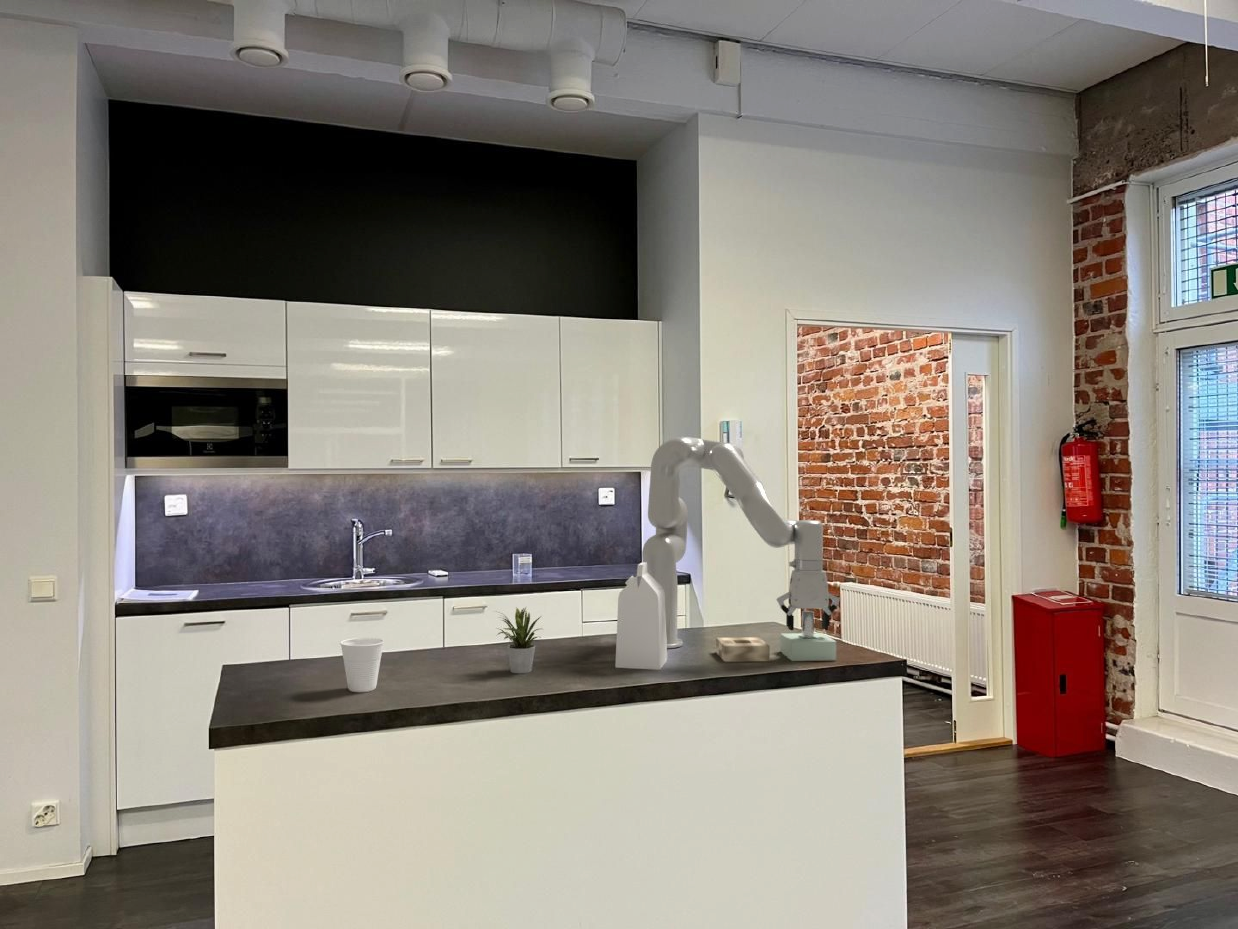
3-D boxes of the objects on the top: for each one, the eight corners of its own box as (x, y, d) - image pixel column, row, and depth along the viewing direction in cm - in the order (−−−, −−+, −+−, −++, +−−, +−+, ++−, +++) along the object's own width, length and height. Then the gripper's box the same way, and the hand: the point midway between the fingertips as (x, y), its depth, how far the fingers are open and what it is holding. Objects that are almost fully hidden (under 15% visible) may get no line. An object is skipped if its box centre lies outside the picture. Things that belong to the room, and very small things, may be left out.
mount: (724, 661, 252) (724, 646, 252) (716, 652, 264) (716, 637, 264) (769, 661, 253) (769, 646, 253) (759, 651, 265) (759, 637, 265)
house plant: (483, 666, 245) (484, 602, 245) (536, 662, 250) (536, 599, 250) (497, 678, 232) (497, 610, 231) (552, 674, 237) (552, 607, 236)
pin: (803, 657, 259) (803, 612, 258) (800, 654, 262) (800, 610, 262) (815, 657, 259) (815, 612, 259) (811, 654, 262) (812, 610, 262)
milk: (660, 669, 242) (660, 566, 242) (615, 667, 245) (616, 565, 244) (667, 659, 254) (667, 561, 254) (624, 657, 256) (625, 560, 256)
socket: (791, 660, 254) (791, 642, 254) (780, 651, 266) (780, 633, 266) (836, 660, 255) (836, 641, 255) (822, 651, 267) (822, 633, 267)
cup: (388, 684, 225) (388, 637, 225) (379, 695, 215) (379, 645, 215) (345, 684, 225) (345, 637, 224) (334, 695, 215) (334, 645, 215)
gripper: (780, 567, 256) (780, 632, 256) (844, 567, 257) (843, 631, 257) (773, 564, 263) (773, 627, 263) (835, 564, 265) (834, 626, 265)
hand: (807, 629), depth 260 cm, fingers open, 9 cm apart
